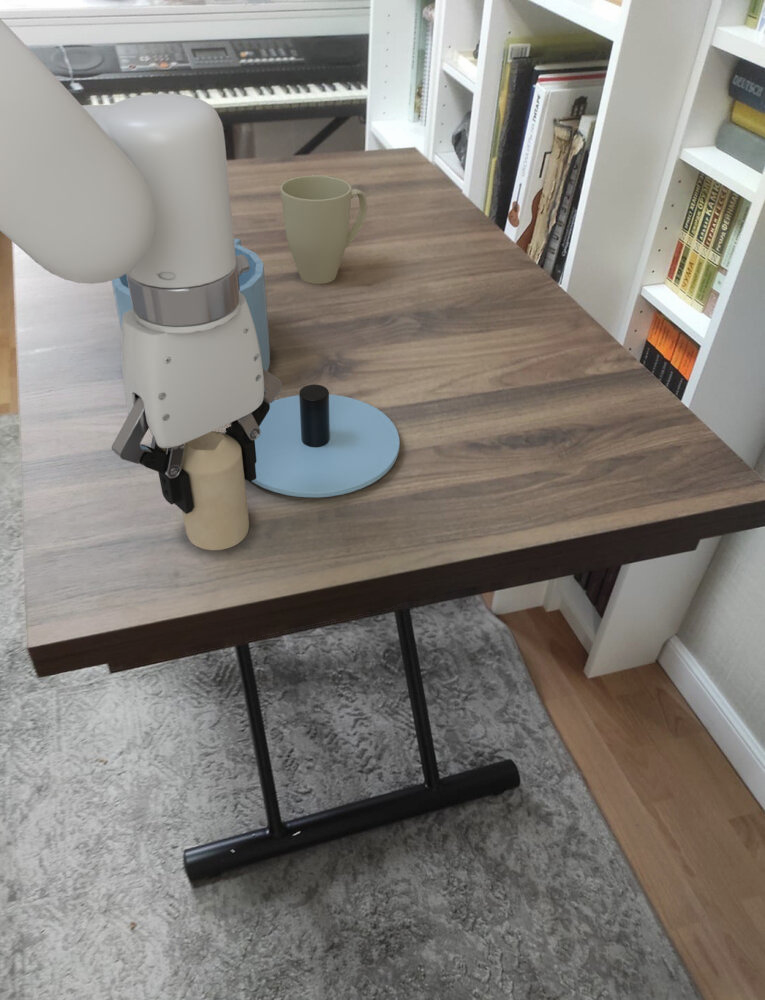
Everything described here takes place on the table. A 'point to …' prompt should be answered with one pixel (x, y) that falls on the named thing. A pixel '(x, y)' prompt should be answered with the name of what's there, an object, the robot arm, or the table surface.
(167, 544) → the table surface
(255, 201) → the table surface
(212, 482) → the candle
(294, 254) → the mug
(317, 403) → the lid
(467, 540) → the table surface
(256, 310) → the pot
